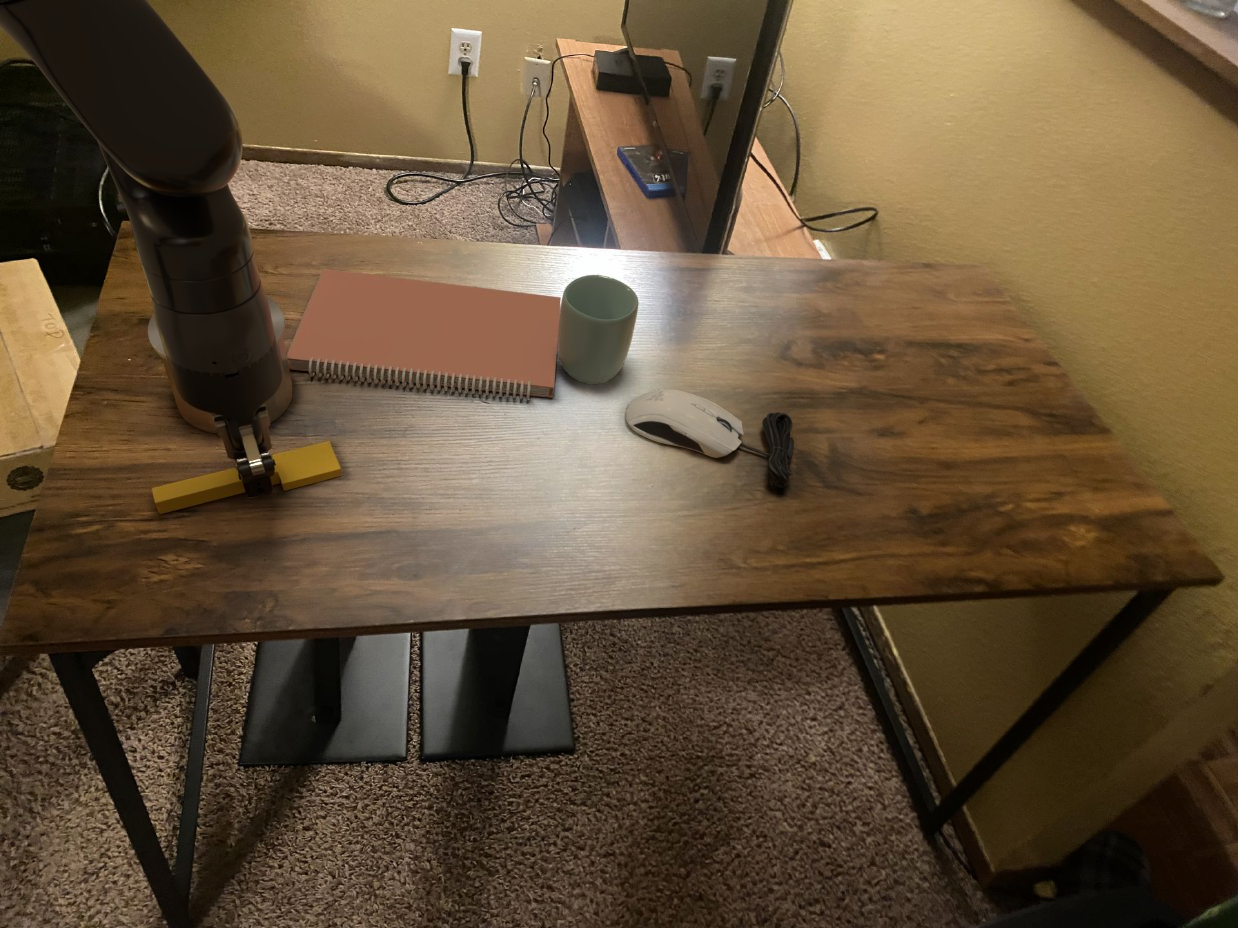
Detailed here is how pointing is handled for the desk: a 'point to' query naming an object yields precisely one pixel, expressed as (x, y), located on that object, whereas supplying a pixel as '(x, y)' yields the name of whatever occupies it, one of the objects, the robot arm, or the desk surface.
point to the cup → (596, 327)
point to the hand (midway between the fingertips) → (258, 489)
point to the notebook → (428, 334)
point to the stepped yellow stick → (289, 470)
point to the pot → (273, 405)
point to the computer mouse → (708, 428)
